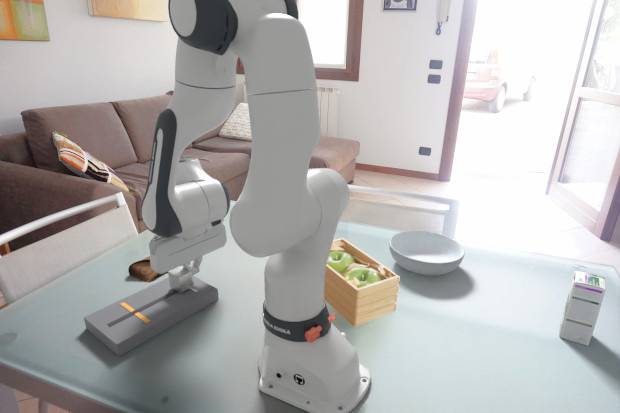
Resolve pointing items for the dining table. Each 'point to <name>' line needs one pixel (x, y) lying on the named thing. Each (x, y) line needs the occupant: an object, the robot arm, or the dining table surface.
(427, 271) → the serving bowl
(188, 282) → the fader tab
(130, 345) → the fader console
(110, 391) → the dining table surface
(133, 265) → the sunglasses case
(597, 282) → the syrup box
